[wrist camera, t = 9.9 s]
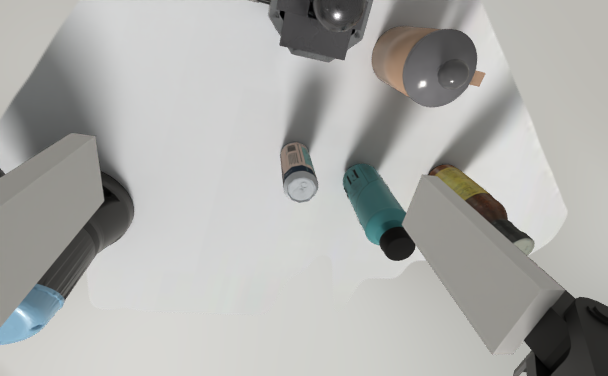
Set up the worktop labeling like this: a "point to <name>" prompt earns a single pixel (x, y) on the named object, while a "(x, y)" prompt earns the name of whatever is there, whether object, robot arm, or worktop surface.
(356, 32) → the steel carafe
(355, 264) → the worktop surface
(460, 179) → the sauce bottle
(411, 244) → the beverage bottle
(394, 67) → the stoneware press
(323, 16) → the plunger
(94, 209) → the robot arm
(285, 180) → the beer can
